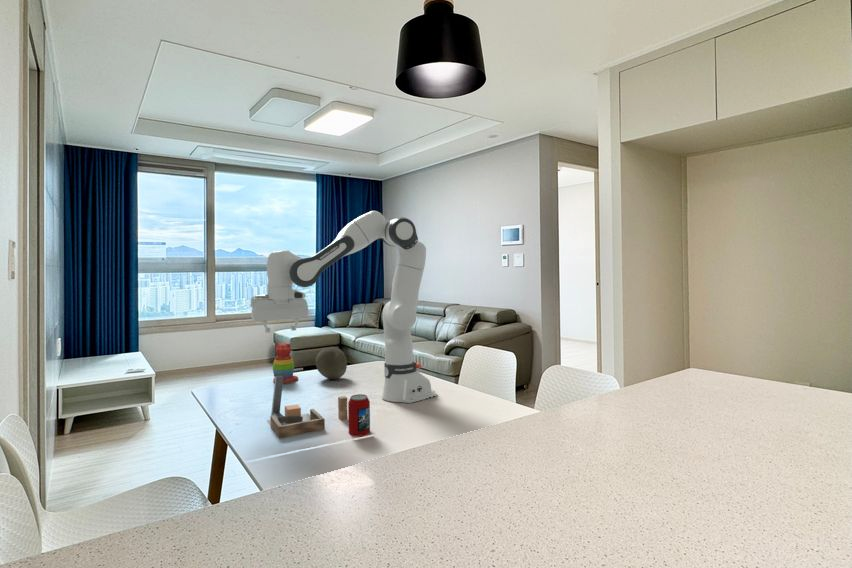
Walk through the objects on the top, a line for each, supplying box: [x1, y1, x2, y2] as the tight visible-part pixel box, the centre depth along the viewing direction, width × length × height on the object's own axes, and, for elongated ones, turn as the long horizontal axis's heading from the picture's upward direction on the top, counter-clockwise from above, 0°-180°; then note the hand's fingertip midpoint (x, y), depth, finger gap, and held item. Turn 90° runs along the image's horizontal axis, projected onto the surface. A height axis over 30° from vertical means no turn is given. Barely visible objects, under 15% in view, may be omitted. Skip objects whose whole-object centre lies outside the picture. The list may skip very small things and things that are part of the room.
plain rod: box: [337, 395, 348, 421], centre depth 160 cm, size 2×2×8 cm
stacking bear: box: [272, 342, 299, 385], centre depth 213 cm, size 11×10×18 cm
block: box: [284, 404, 302, 416], centre depth 159 cm, size 4×4×4 cm
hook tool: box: [270, 376, 303, 423], centre depth 161 cm, size 8×13×14 cm, turn 26°
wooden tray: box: [266, 408, 326, 439], centre depth 154 cm, size 14×19×4 cm
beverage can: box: [347, 393, 371, 438], centre depth 147 cm, size 7×7×12 cm
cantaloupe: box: [315, 346, 348, 380], centre depth 216 cm, size 14×14×15 cm
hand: (280, 331), depth 172 cm, fingers open, 8 cm apart
